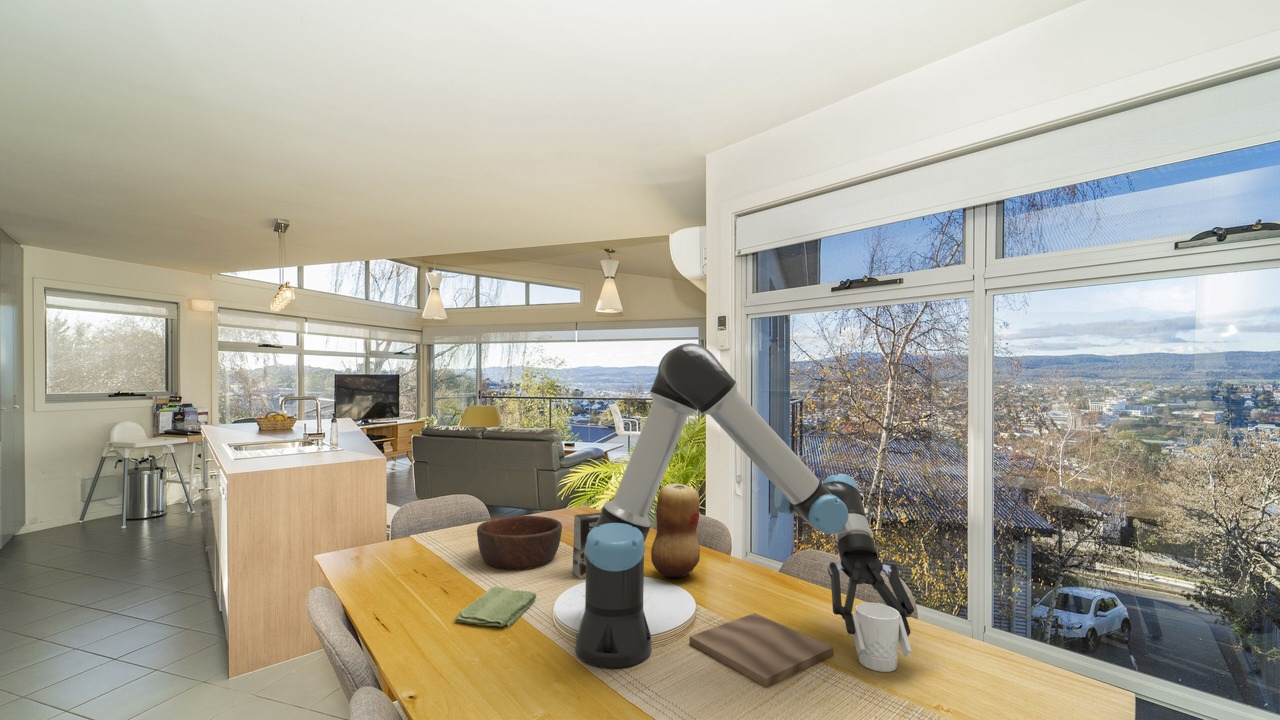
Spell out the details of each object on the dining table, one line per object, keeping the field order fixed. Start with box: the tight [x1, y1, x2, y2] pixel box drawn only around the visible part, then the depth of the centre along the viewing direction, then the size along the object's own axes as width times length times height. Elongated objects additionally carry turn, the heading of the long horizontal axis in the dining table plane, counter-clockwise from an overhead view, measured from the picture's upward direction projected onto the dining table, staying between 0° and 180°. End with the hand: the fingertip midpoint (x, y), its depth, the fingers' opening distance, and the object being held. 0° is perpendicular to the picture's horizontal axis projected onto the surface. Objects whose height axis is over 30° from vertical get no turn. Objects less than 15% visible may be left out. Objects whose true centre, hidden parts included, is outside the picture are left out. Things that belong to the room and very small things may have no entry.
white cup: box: [854, 602, 900, 673], centre depth 106 cm, size 8×8×10 cm
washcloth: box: [454, 586, 537, 629], centre depth 127 cm, size 13×18×3 cm
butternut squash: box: [650, 483, 701, 579], centre depth 153 cm, size 14×13×25 cm
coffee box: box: [572, 512, 601, 580], centre depth 154 cm, size 9×6×16 cm
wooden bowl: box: [476, 515, 563, 570], centre depth 166 cm, size 25×25×10 cm
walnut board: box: [689, 612, 834, 688], centre depth 111 cm, size 20×20×2 cm
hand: (884, 652), depth 102 cm, fingers closed on white cup, 8 cm apart
